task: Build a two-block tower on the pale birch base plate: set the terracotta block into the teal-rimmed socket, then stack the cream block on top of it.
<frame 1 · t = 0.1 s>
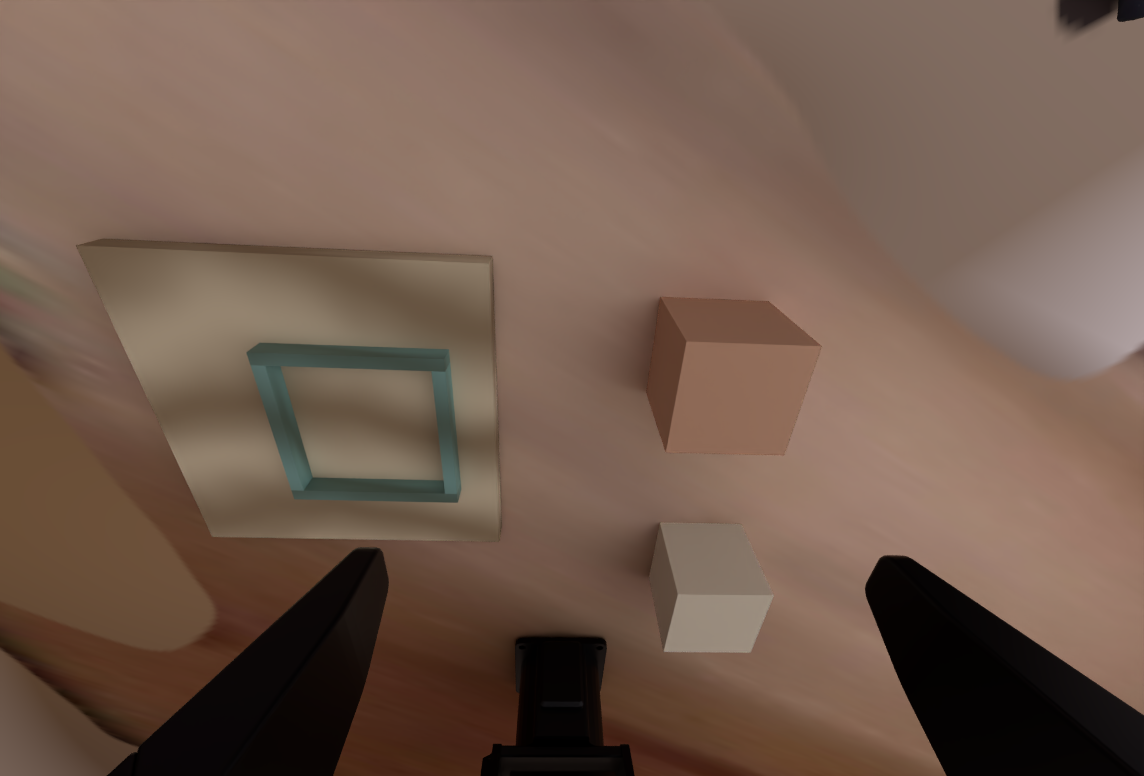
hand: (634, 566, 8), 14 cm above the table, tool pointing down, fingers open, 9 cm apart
base plate: (338, 408, 23), on the table
terracotta block: (704, 348, 22), on the table
cream block: (693, 550, 29), on the table
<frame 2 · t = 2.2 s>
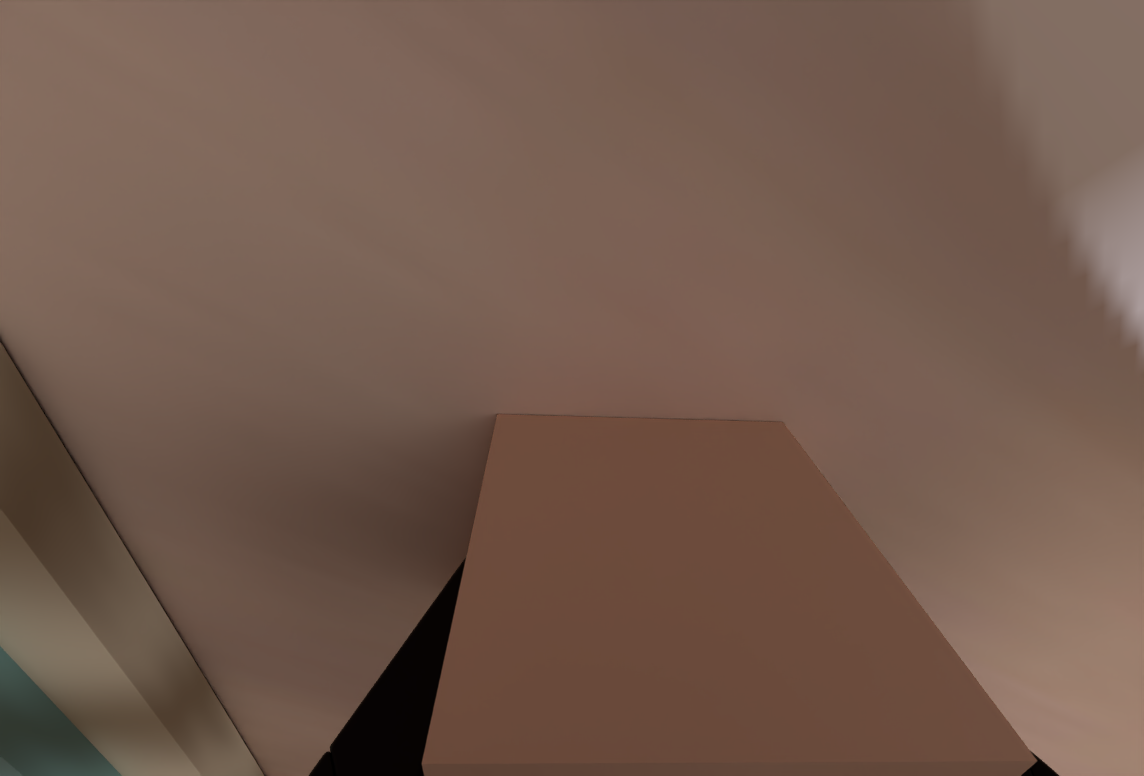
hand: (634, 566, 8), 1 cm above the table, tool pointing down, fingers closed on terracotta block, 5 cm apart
terracotta block: (626, 522, 9), on the table, touching gripper
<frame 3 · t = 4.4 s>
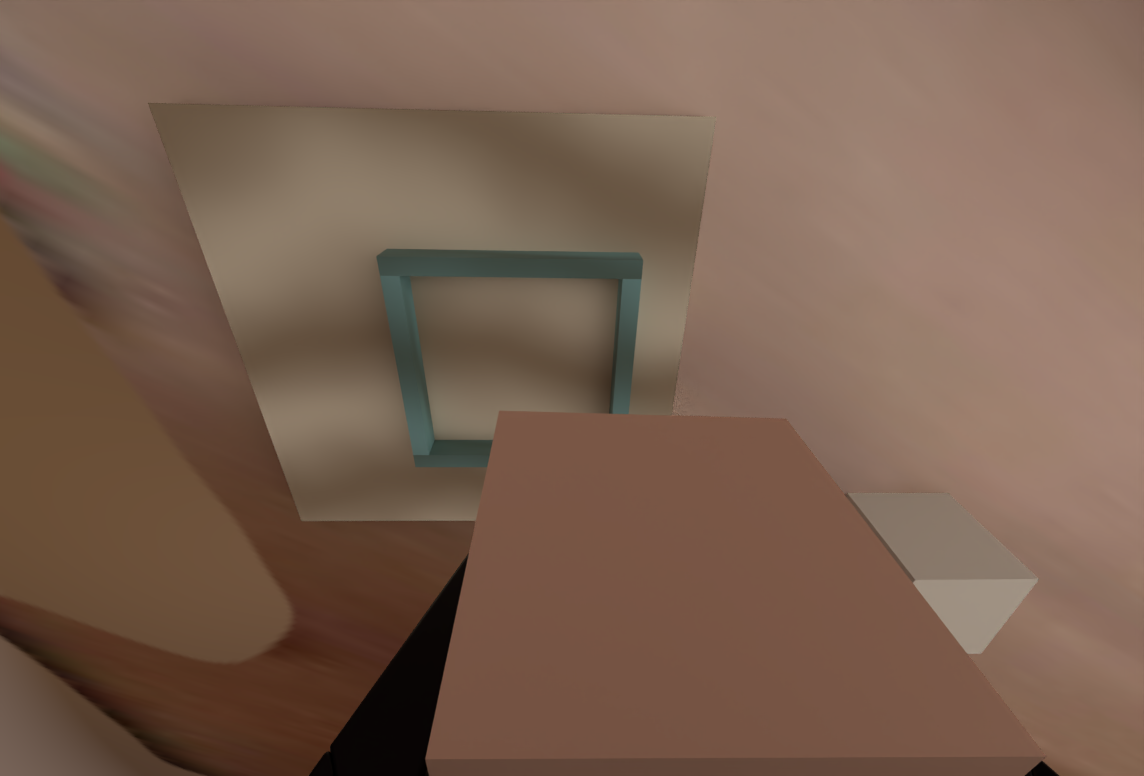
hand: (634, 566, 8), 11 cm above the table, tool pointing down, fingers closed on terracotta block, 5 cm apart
base plate: (469, 348, 18), on the table
terracotta block: (628, 520, 9), point 10 cm above the table, touching gripper
cream block: (879, 528, 24), on the table
when the fingers open (3 cm above the table, at t = 6.5 s): terracotta block stays where it is, resting on base plate.
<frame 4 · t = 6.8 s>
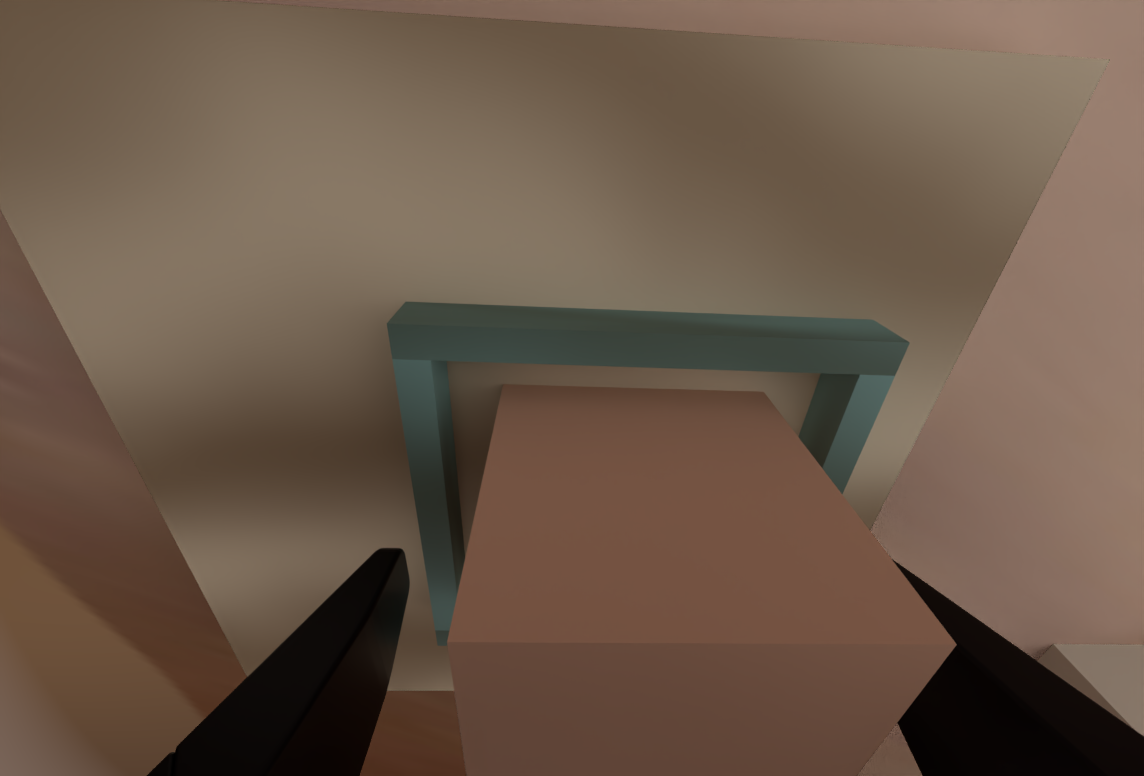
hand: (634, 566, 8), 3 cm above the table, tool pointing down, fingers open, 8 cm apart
base plate: (531, 453, 11), on the table
terracotta block: (621, 488, 10), point 1 cm above the table, touching base plate
cream block: (1077, 683, 17), on the table
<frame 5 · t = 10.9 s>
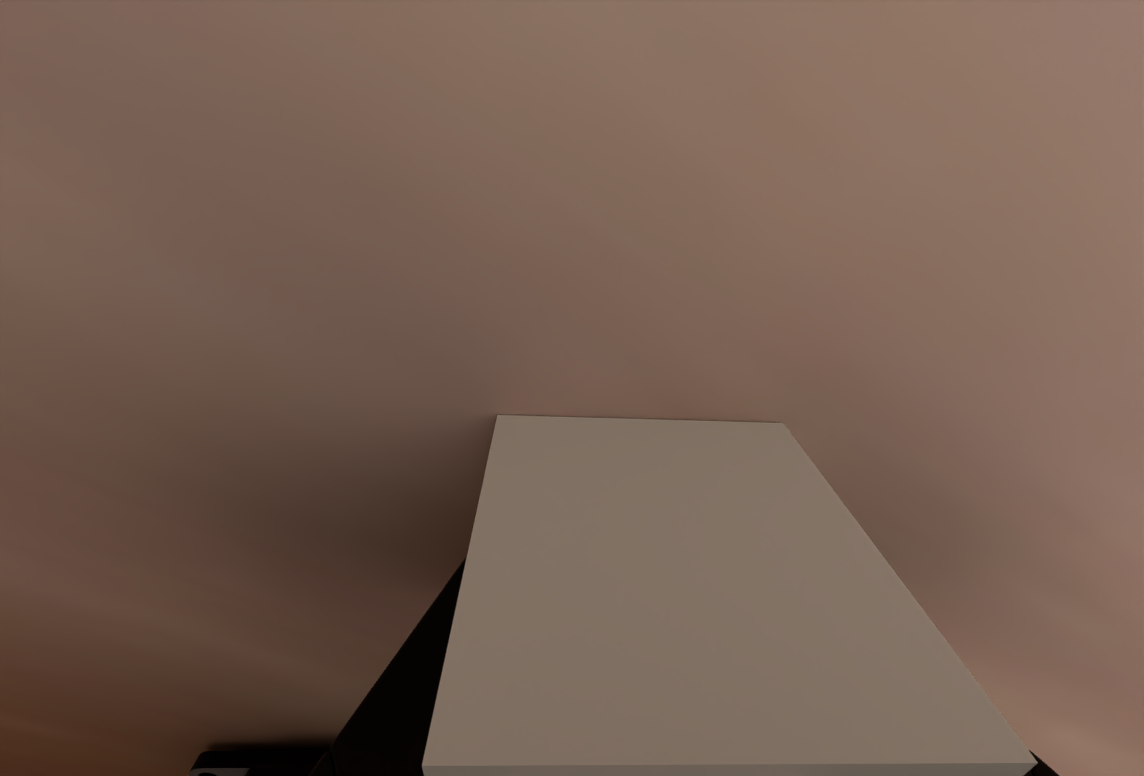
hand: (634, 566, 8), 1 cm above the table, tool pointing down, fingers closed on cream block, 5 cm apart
cream block: (626, 523, 9), on the table, touching gripper
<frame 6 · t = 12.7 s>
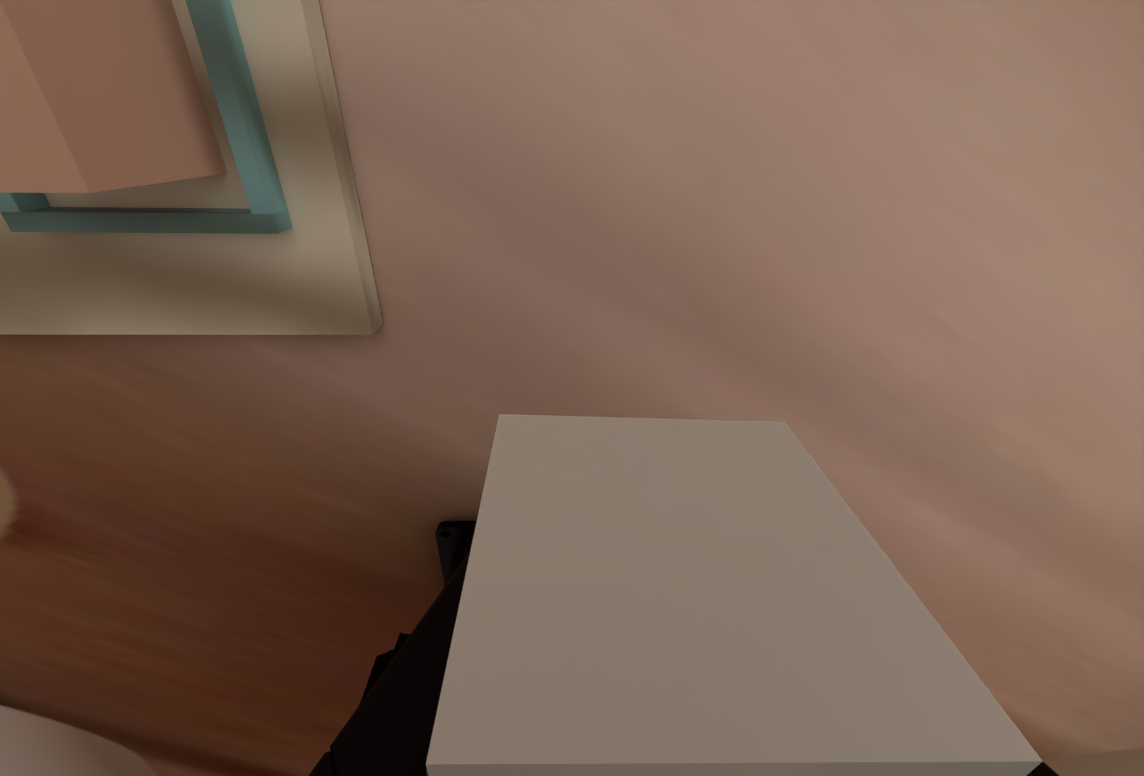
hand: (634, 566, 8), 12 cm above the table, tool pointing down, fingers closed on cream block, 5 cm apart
base plate: (76, 82, 14), on the table
terracotta block: (109, 78, 13), point 1 cm above the table, touching base plate
cream block: (628, 522, 9), point 11 cm above the table, touching gripper
when the fingers open (8 cm above the table, at t = 14.9 s): cream block stays where it is, resting on terracotta block.
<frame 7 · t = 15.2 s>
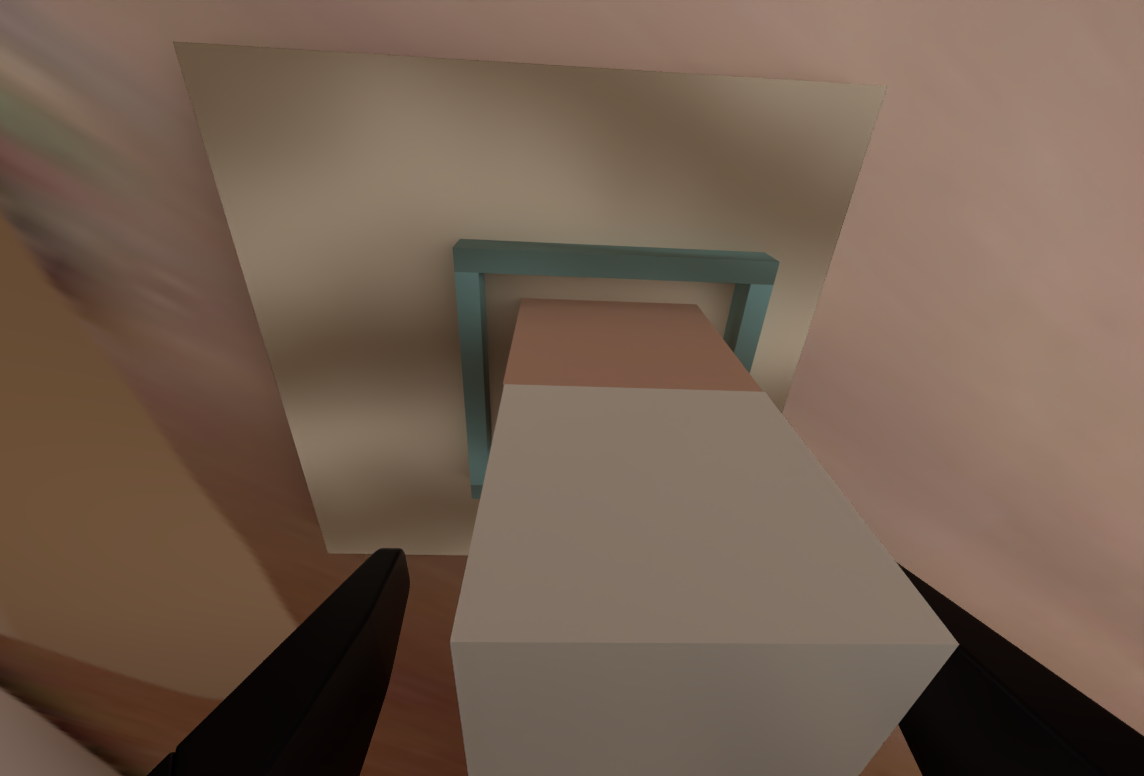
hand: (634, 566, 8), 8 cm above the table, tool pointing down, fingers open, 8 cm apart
base plate: (539, 360, 15), on the table
terracotta block: (602, 378, 14), point 1 cm above the table, touching base plate, cream block
cream block: (623, 488, 10), point 6 cm above the table, touching terracotta block
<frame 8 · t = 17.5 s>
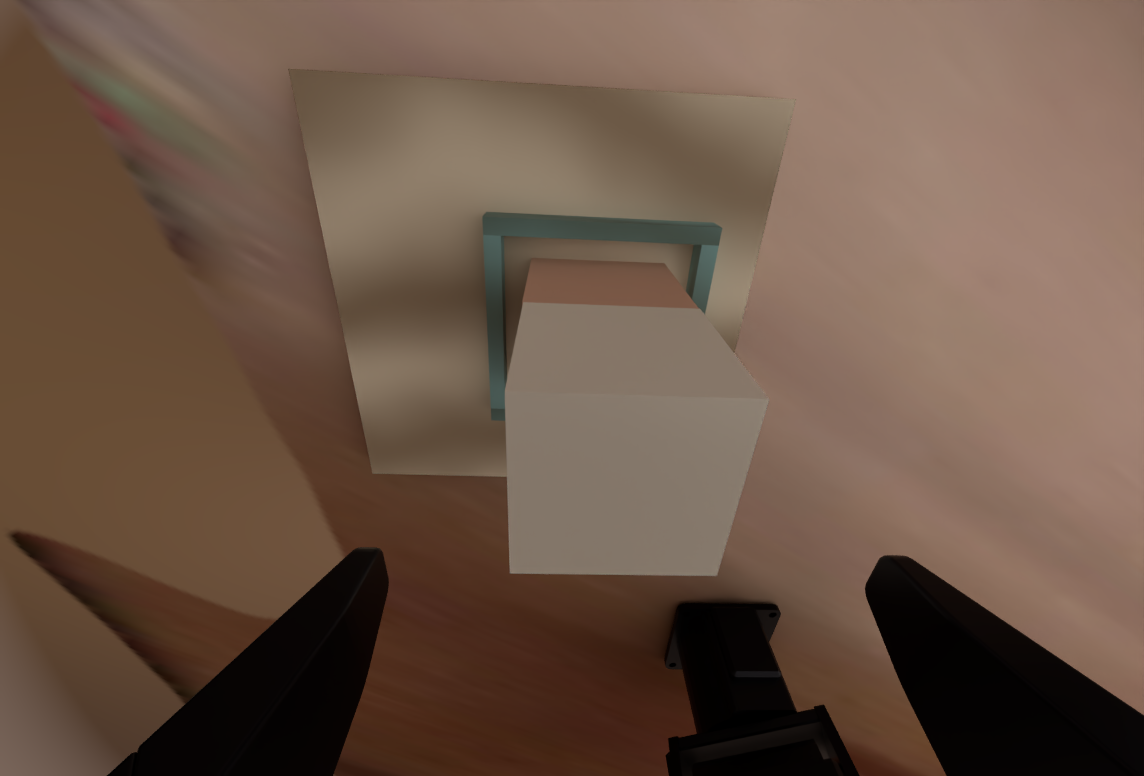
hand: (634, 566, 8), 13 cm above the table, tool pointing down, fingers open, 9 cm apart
base plate: (544, 312, 20), on the table
terracotta block: (593, 323, 19), point 1 cm above the table, touching base plate, cream block
cream block: (605, 383, 14), point 6 cm above the table, touching terracotta block
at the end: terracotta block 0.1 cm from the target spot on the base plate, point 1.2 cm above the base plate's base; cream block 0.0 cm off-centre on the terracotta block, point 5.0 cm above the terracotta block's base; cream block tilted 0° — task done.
